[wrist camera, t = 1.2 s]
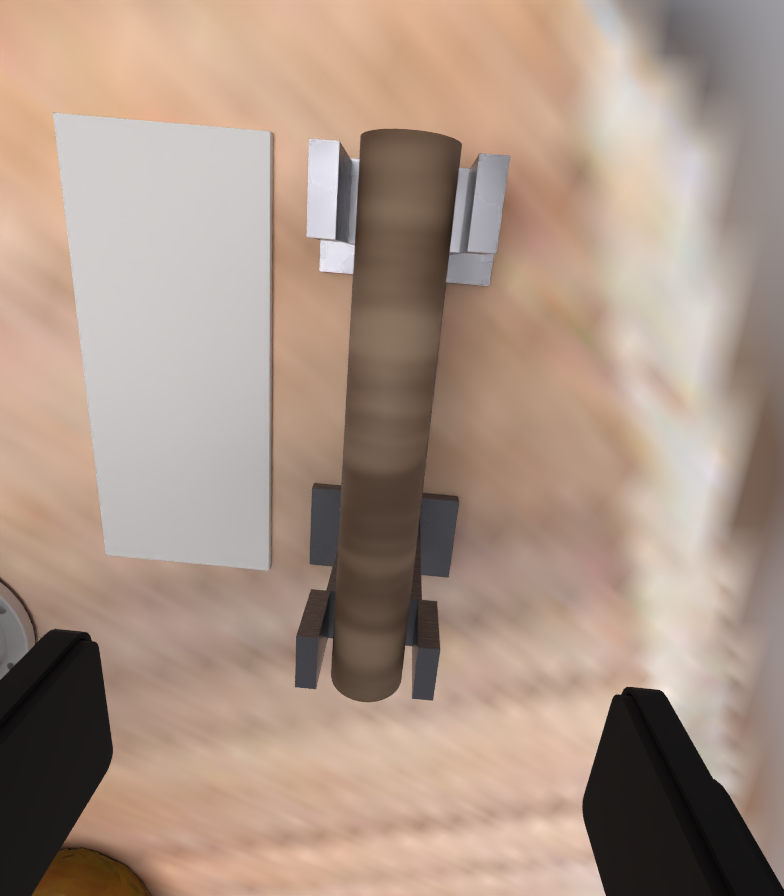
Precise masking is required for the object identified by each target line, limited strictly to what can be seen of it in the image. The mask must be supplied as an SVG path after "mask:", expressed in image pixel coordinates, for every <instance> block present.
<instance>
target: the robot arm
mask: <svg viewBox="0 0 784 896" xmlns="http://www.w3.org/2000/svg"><path fill="white" fill-rule="evenodd" d="M112 754H113V746H112V739H111V731H110V724H109V717H108V710H107V703H106V695H105V688H104V681H103V674H102V666H101V659H100V652H99V646H98V644H97V643H96V642H93V641H92V640H91V637H90V635H89V634H88V633H87V632H80V631H70V630H60V629H54V630H51V631H49V632H48V633H47V634H45V635H44V636H43V637H42V638H41V639H40V640H39V641H38V642H37V643H36V644H35V636H34V630H33V626H32V623H31V621H30V619H29V616H28V614H27V612H26V610H25V609H24V607H23V606H22V604H21V603H20V601H19V600H18V599H17V598H16V596H15V595H14V594H13V593H12V592H11V591H10V590H9V589H8V588H7V587H6V586H5V585H3V584H2V583H1V582H0V896H32V894H33V892H34V891H35V889H36V887H37V886H38V884H39V882H40V881H41V879H42V878H43V876H44V874H45V873H46V871H47V869H48V868H49V866H50V864H51V863H52V861H53V859H54V858H55V856H56V854H57V853H58V851H59V850H60V848H61V846H62V845H63V843H64V841H65V840H66V838H67V836H68V835H69V833H70V831H71V830H72V828H73V827H74V825H75V823H76V822H77V820H78V818H79V817H80V815H81V813H82V812H83V810H84V808H85V807H86V805H87V803H88V802H89V800H90V799H91V797H92V795H93V794H94V792H95V790H96V789H97V787H98V785H99V784H100V782H101V780H102V779H103V777H104V775H105V774H106V772H107V770H108V768H109V765H110V763H111V759H112ZM582 807H583V818H584V822H585V826H586V830H587V833H588V836H589V840H590V843H591V847H592V850H593V853H594V857H595V860H596V864H597V867H598V870H599V874H600V877H601V881H602V884H603V887H604V891H605V894H606V896H784V889H783V888H782V886H781V884H780V882H779V881H778V879H777V877H776V875H775V874H774V872H773V870H772V869H771V867H770V865H769V863H768V862H767V860H766V858H765V856H764V855H763V853H762V851H761V849H760V848H759V846H758V844H757V842H756V841H755V839H754V837H753V836H752V834H751V832H750V830H749V829H748V827H747V825H746V823H745V822H744V820H743V818H742V817H741V815H740V813H739V811H738V810H737V808H736V806H735V804H734V803H733V801H732V799H731V798H730V796H729V794H728V793H727V792H726V790H725V789H724V787H723V786H722V785H721V784H720V783H718V782H717V781H716V780H715V779H713V778H712V776H711V774H710V773H709V771H708V769H707V767H706V766H705V764H704V762H703V760H702V758H701V757H700V755H699V753H698V751H697V750H696V748H695V746H694V744H693V743H692V741H691V739H690V737H689V736H688V734H687V732H686V730H685V728H684V727H683V725H682V723H681V721H680V720H679V718H678V716H677V714H676V713H675V711H674V709H673V707H672V705H671V704H670V702H669V700H668V698H667V697H666V695H665V694H664V693H663V692H662V691H660V690H655V689H645V688H635V687H626V688H625V689H624V690H623V692H622V694H621V695H615V696H614V697H613V699H612V702H611V705H610V709H609V712H608V716H607V719H606V722H605V726H604V729H603V733H602V736H601V739H600V743H599V746H598V750H597V753H596V756H595V760H594V763H593V766H592V770H591V773H590V777H589V780H588V783H587V787H586V790H585V794H584V797H583V806H582Z"/></svg>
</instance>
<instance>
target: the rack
mask: <svg viewBox="0 0 784 896" xmlns="http://www.w3.org/2000/svg"><path fill="white" fill-rule="evenodd" d="M509 161H510V156H505V155H494V154H482V153H480V154H479V155H478V157H477V158H476V160H475V162H474V163H473V165H472V167H471V168H470V169H467V168H459V174H458V183H457V192H456V201H455V209H454V218H453V227H452V236H451V245H450V254H449V262H448V271H447V280H446V282H448V283H459V284H470V285H481V286H489V285H490V278H491V271H492V264H493V256H494V254H496V253H497V246H498V238H499V231H500V224H501V217H502V210H503V203H504V196H505V189H506V182H507V175H508V168H509ZM358 177H359V159H352V158H350V157H349V156H348V154H347V152H346V151H345V149H344V148H343V146H342V144H341V143H340V141H332V140H320V139H309V163H308V202H307V237H309V238H314V239H318V240H321V244H320V271H324V272H335V273H347V274H353V268H354V250H355V232H356V213H357V195H358ZM340 505H341V486H338V485H327V484H316V483H314V485H313V487H312V508H311V538H310V564H313V565H323V566H333V568H332V572H331V575H330V579H329V583H328V586H327V590H326V591H323V590H313V589H311V591H310V594H309V598H308V601H307V604H306V607H305V610H304V614H303V617H302V620H301V623H300V626H299V629H298V633H297V636H296V673H295V687H299V688H309V689H316V687H317V683H318V678H319V674H320V669H321V665H322V661H323V656H324V652H325V648H326V643H327V639H328V638H333V632H334V614H335V596H336V578H337V559H338V541H339V523H340ZM458 506H459V499H458V497H456V496H445V495H434V494H423V493H422V501H421V510H420V519H419V527H418V536H417V545H416V554H415V563H414V572H413V580H412V589H411V598H410V607H409V616H408V625H407V633H406V642H405V645H407V646H412V699H422V700H433V697H434V690H435V683H436V676H437V668H438V661H439V654H440V640H439V624H438V609H437V601H428V600H422V590H421V575H429V576H439V577H449V570H450V563H451V556H452V549H453V541H454V534H455V527H456V520H457V513H458Z"/></svg>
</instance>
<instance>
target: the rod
mask: <svg viewBox="0 0 784 896" xmlns="http://www.w3.org/2000/svg"><path fill="white" fill-rule="evenodd" d="M461 148H462V144H461V143H460V142H459V141H458V140H456V139H454V138H451V137H448V136H445V135H441V134H437V133H432V132H426V131H418V130H408V129H379V130H371V131H367V132H364V133H363V134H361V140H360V159H359V177H358V195H357V213H356V232H355V250H354V268H353V286H352V304H351V323H350V341H349V359H348V377H347V395H346V414H345V432H344V450H343V468H342V486H341V505H340V523H339V541H338V559H337V578H336V596H335V614H334V632H333V650H332V669H331V678H332V682H333V684H334V686H335V687H336V689H337V690H338V691H339V692H340V693H341V694H343V695H344V696H346V697H348V698H350V699H353V700H356V701H361V702H375V701H380V700H383V699H385V698H387V697H389V696H391V695H392V694H393V693H394V692H395V691H396V690H397V689H398V687H399V685H400V683H401V678H402V669H403V660H404V651H405V642H406V633H407V625H408V616H409V607H410V598H411V589H412V580H413V572H414V563H415V554H416V545H417V536H418V527H419V519H420V510H421V501H422V492H423V483H424V474H425V466H426V457H427V448H428V439H429V430H430V421H431V413H432V404H433V395H434V386H435V377H436V368H437V360H438V351H439V342H440V333H441V324H442V315H443V307H444V298H445V289H446V280H447V271H448V262H449V254H450V245H451V236H452V227H453V218H454V209H455V201H456V192H457V183H458V174H459V165H460V156H461Z"/></svg>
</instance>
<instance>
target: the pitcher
mask: <svg viewBox="0 0 784 896" xmlns="http://www.w3.org/2000/svg"><path fill="white" fill-rule="evenodd" d="M32 896H151V895H150V893H149V892H147V890H146V888H145V885H143V883H142V881H141V882H140V880H139V878H137V876H135V874H134V873H132V871H131V870H130V869H129V868H128V867H127V866H125V865H123V864H120V862H117V861H112V860H111V859H110V860H109V857H108V858H107V857H106V856H101V855H100V854H99V853H98V852H97V851H94V852H93V851H91V850H88V849H85V848H83V849H82V848H80V849H76V850H74V849H72V850H69V849H68V848H66V849H63V850H61V851H58V853H57V854H56V856H55V858H54V859H53V861H52V863H51V864H50V866H49V868H48V869H47V871H46V873H45V874H44V876H43V878H42V879H41V881H40V882H39V884H38V886H37V887H36V889H35V891H34V892H33V894H32Z"/></svg>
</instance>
